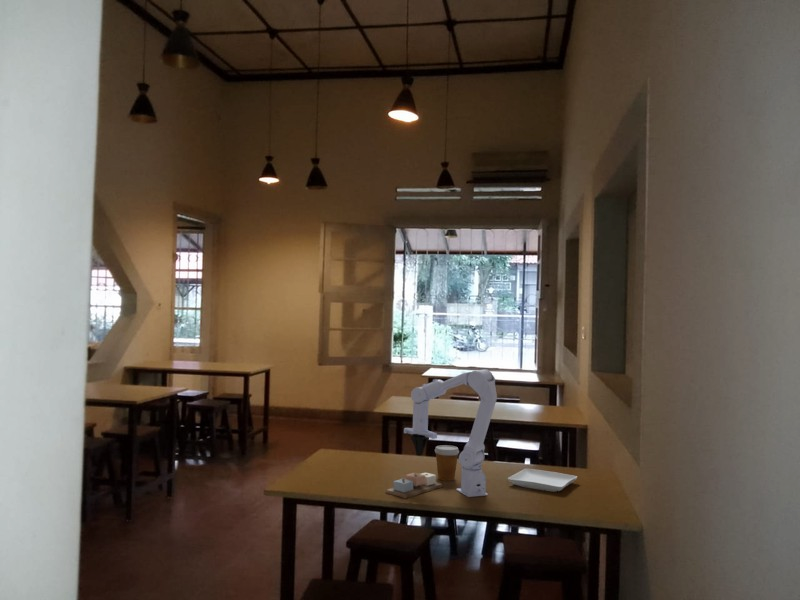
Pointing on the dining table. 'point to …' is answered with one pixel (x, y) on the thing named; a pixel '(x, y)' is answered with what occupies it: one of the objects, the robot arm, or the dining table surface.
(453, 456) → the disposable coffee cup
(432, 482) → the key one
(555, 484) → the salad plate
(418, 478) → the key two
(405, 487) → the key three
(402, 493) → the board
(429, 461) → the dining table surface
